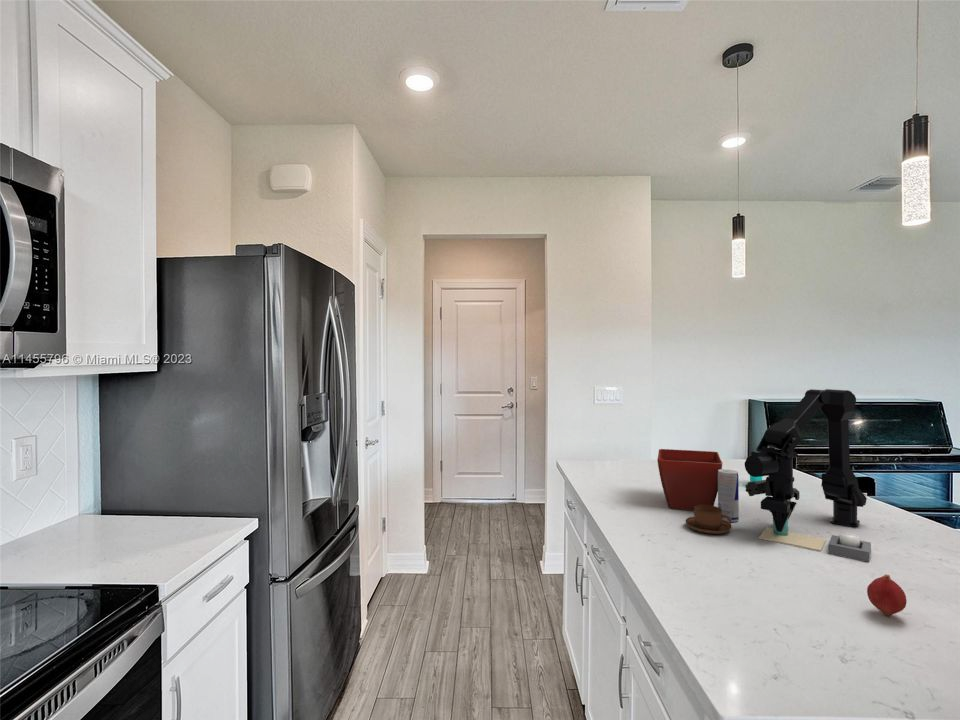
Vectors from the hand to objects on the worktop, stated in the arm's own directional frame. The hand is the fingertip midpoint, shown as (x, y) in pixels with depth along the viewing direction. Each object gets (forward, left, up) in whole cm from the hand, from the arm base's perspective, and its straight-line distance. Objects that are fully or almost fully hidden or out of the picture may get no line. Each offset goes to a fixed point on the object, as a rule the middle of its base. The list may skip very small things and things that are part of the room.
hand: (780, 529), depth 134 cm
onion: (+35, +24, -2) cm, 42 cm away
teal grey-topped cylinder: (0, 0, -1) cm, 1 cm away
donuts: (-51, -13, -2) cm, 53 cm away
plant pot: (-11, -28, -2) cm, 31 cm away
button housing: (+3, +16, -2) cm, 16 cm away
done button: (+3, +16, 0) cm, 16 cm away
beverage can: (-4, -14, -2) cm, 15 cm away
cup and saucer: (+8, -17, -2) cm, 19 cm away
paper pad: (+2, +3, -2) cm, 4 cm away
